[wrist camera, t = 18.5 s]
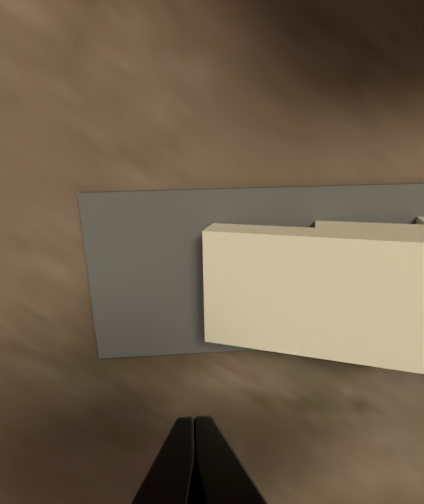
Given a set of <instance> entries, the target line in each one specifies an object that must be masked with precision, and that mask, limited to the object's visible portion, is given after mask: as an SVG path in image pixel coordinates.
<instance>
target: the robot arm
mask: <svg viewBox="0 0 424 504" xmlns="http://www.w3.org/2000/svg"><path fill="white" fill-rule="evenodd" d="M197 502H198V504H267V502H266V501H265V499H264V497H263V496H262V494H261V493H260V491H259V490H258V488H257V486H256V485H255V483H254V482H253V480H252V479H251V477H250V475H249V474H248V472H247V471H246V469H245V468H244V466H243V464H242V463H241V461H240V460H239V458H238V456H237V455H236V453H235V452H234V450H233V449H232V447H231V445H230V444H229V442H228V441H227V439H226V438H225V436H224V434H223V433H222V431H221V430H220V428H219V426H218V425H217V423H216V422H215V420H214V419H213V417H212V416H197V417H196V418H195V420H194V418H193V417H180V418H178V419H177V420H176V421H175V423H174V425H173V427H172V429H171V430H170V432H169V434H168V436H167V438H166V440H165V442H164V443H163V445H162V447H161V449H160V451H159V453H158V455H157V456H156V458H155V460H154V462H153V464H152V466H151V468H150V469H149V471H148V473H147V475H146V477H145V479H144V481H143V482H142V484H141V486H140V488H139V490H138V492H137V494H136V495H135V497H134V499H133V501H132V503H131V504H197Z"/></svg>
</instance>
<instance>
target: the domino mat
mask: <svg viewBox="0 0 424 504" xmlns="http://www.w3.org/2000/svg"><path fill="white" fill-rule="evenodd" d="M77 196H78V204H79V211H80V219H81V227H82V234H83V242H84V249H85V257H86V265H87V272H88V280H89V288H90V295H91V303H92V311H93V318H94V326H95V334H96V341H97V349H98V357H99V359H100V358H118V357H136V356H154V355H172V354H190V353H208V352H226V351H244V350H258V349H252V348H245V347H238V346H231V345H225V344H218V343H211V342H205V330H204V286H203V243H202V231H203V230H204V229H206V228H207V227H209V226H210V225H211V224H213V223H223V224H245V225H266V226H288V227H309V228H315V220H316V221H342V222H368V223H395V224H416V219H417V217H424V183H406V184H369V185H332V186H295V187H257V188H220V189H183V190H146V191H109V192H79V193H77Z"/></svg>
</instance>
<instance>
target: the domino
mask: <svg viewBox="0 0 424 504" xmlns="http://www.w3.org/2000/svg"><path fill="white" fill-rule="evenodd" d="M202 243H203V286H204V330H205V342H211V343H218V344H225V345H231V346H238V347H245V348H252V349H258V350H265V351H272V352H279V353H285V354H292V355H299V356H306V357H312V358H319V359H326V360H333V361H339V362H346V363H353V364H360V365H366V366H373V367H380V368H387V369H393V370H400V371H407V372H414V373H420V374H424V233H417V232H396V231H374V230H352V229H331V228H309V227H288V226H266V225H245V224H223V223H213V224H211V225H210V226H209V227H207V228H206V229H204V230H203V231H202Z"/></svg>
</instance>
